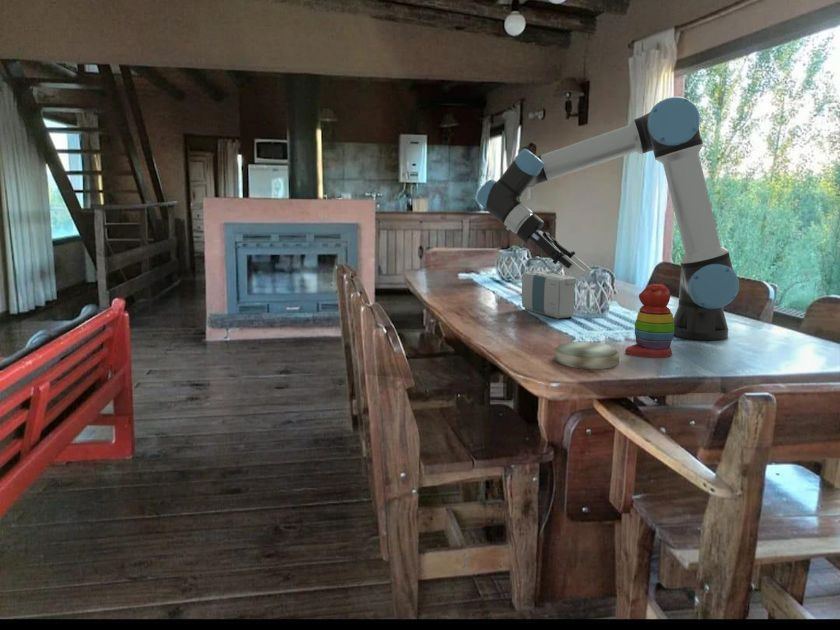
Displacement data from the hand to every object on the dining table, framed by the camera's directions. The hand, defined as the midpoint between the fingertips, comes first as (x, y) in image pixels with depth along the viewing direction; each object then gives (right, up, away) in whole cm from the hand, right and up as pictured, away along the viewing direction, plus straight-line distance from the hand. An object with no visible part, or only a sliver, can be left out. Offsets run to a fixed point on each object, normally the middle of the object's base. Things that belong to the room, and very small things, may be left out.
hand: (585, 274), depth 169 cm
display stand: (-3, -22, -14) cm, 26 cm away
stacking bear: (+15, -21, -7) cm, 26 cm away
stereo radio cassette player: (-1, -11, +46) cm, 47 cm away
